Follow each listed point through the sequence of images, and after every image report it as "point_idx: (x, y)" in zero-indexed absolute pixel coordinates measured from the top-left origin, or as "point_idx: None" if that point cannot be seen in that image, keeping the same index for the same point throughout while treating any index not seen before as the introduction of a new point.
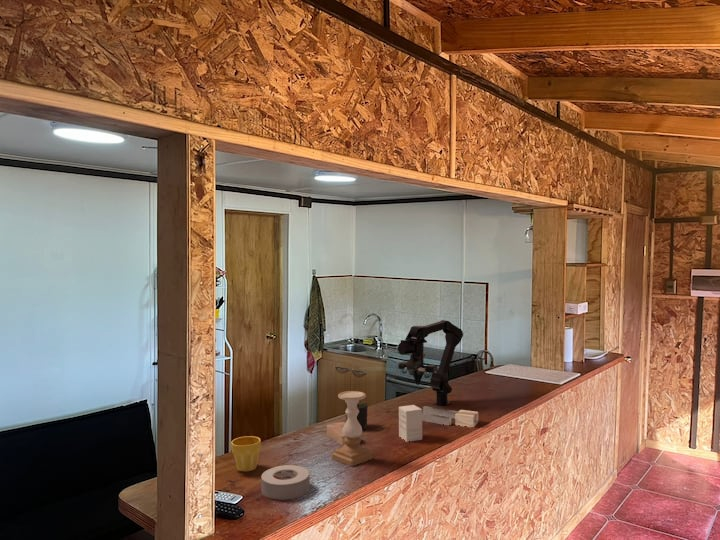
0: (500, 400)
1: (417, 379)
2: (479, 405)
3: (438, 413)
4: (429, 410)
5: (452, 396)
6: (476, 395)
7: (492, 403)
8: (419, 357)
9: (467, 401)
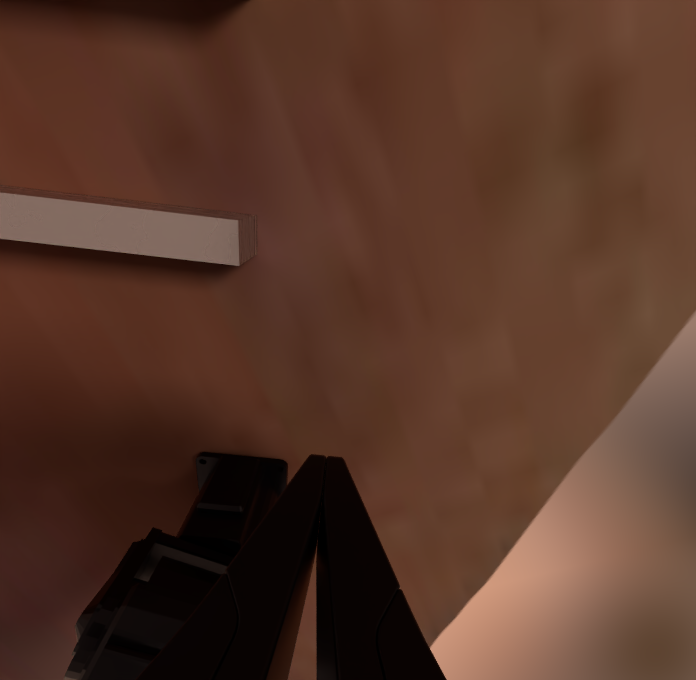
0: (24, 616)
1: (292, 549)
2: (45, 527)
3: (84, 197)
4: (172, 208)
5: None
6: None
7: (18, 572)
8: None
9: None
